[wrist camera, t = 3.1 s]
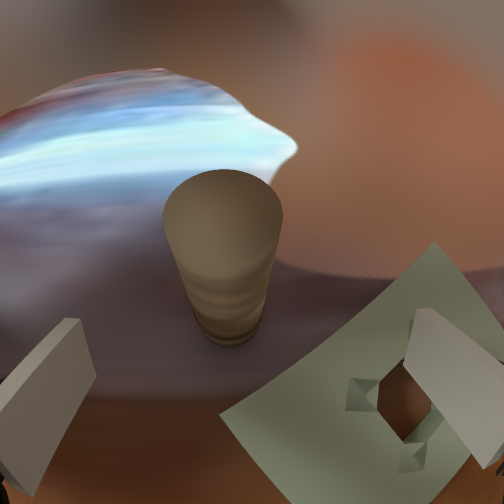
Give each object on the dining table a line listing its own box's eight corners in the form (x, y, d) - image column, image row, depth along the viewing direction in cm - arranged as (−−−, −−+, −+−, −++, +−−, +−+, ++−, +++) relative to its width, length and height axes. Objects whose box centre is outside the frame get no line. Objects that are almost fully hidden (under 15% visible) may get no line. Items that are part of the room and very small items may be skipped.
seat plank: (342, 549, 11) (357, 564, 9) (221, 414, 17) (218, 414, 14) (502, 370, 18) (524, 362, 15) (417, 259, 23) (434, 241, 21)
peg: (221, 362, 19) (199, 292, 8) (188, 313, 20) (142, 199, 10) (272, 329, 20) (310, 226, 10) (237, 283, 22) (239, 154, 11)
